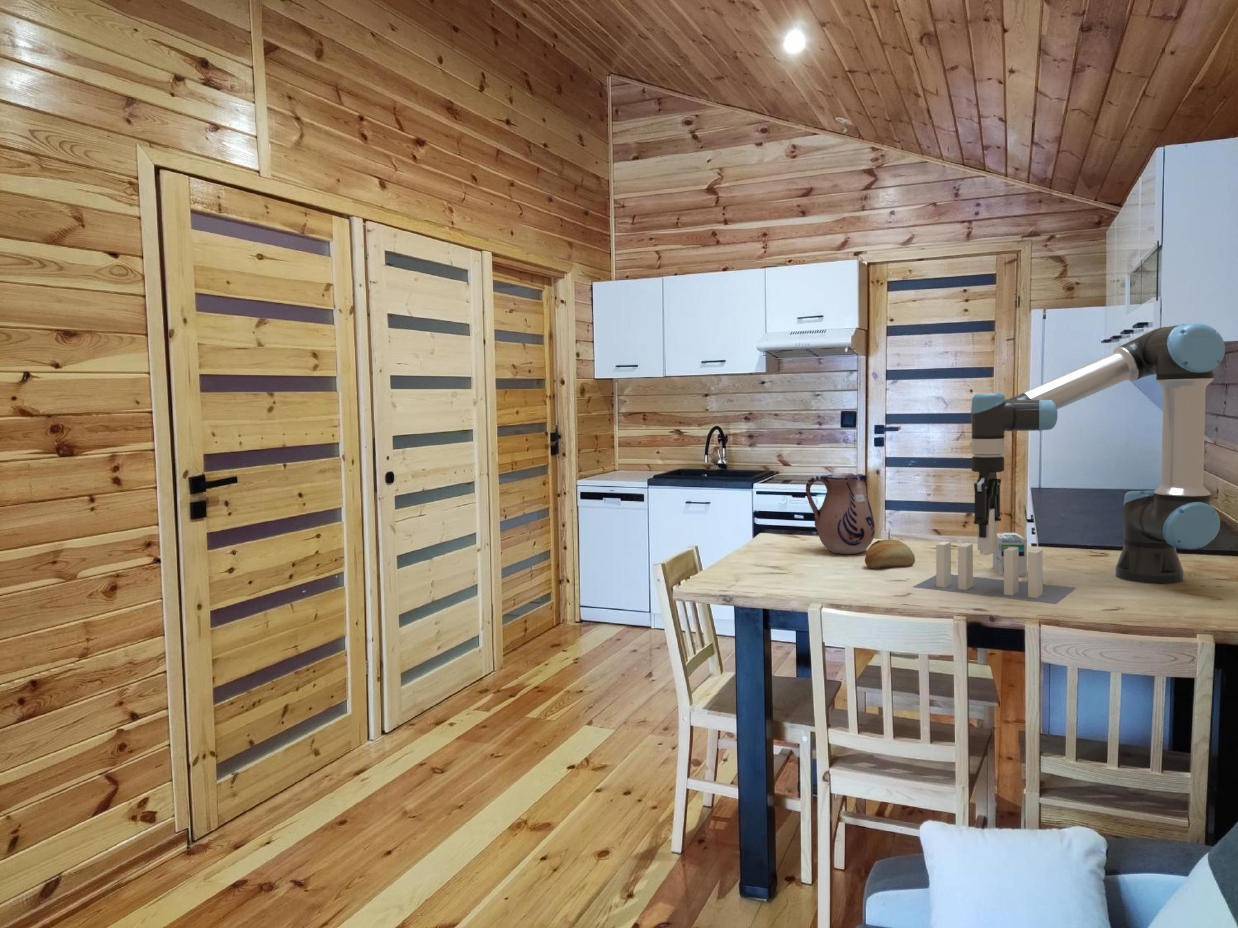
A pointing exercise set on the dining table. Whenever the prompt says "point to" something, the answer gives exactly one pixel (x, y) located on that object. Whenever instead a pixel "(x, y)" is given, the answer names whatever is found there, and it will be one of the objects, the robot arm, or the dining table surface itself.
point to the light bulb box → (1005, 542)
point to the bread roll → (889, 554)
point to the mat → (1000, 589)
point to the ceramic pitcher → (843, 513)
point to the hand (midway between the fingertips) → (987, 548)
